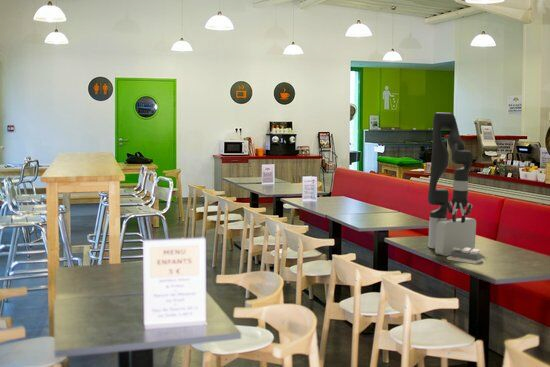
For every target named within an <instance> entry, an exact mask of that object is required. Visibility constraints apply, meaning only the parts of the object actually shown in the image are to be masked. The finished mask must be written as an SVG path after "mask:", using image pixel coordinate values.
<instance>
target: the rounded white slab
mask: <svg viewBox="0 0 550 367" xmlns="http://www.w3.org/2000/svg"><path fill="white" fill-rule="evenodd" d="M476 229H477V220H476V218H472V217H465V222H464V223H461V218H460V217H459V218H458V217H457V218H456V222H453V221H452V219H447V220H443V221H439V222H438V223H437V226H436V242H435V249H434V252H435V254H436V255H439V256H445V257H446V256H447V257H449V256H451V252H452V251H454V250H455V249H453V247H457V248H463V249H464V248H465V247H467V248H471V250H473V249H476V248H475V246H476V232H477V230H476ZM459 251H462V250H459Z"/></svg>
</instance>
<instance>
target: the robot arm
mask: <svg viewBox="0 0 550 367" xmlns="http://www.w3.org/2000/svg"><path fill="white" fill-rule="evenodd" d="M442 130H447V131H448V130H450V133H449V134H448V137H447V144H448V147H449V148H450V150H451V151H450V152H451V161H452V162H453V164H456V165H462V167H460V168H456V169H454V173H453V174H454V176H453V183H452V198H451V201H449V200H450V198H449V197H450V193H449V190H448V189H447V188H437V184H438V182H439V181H440V179H441V177H442V176H443V174H444V173H445V172H446V170H447V168H448V167H449V159H450V158H449V157H450V153H449V151H448V148H447V147H446V144H445V143H444V141H443V138H442V133H441V131H442ZM465 148H466V147H465V144H464V142H463V140H462V138H461V135H460V132H459V127H458V124H457V120H456V117H455V115H454V113H453V112H435V113H434V114H433V117H432V150H431V156H430V158H431V159H430V178H429V184H428V193H427V201H428V204H429V205H432V206H439V207H438V208H437V209H434V210H431V211H430V212H429V223H428V243H427V247H428V248H430V249H434V250H435V242H436V226H437V223H438V222H439V221H443V220H448V219H447V218H448V213H449V214H451V215H452V217H451V218H452V221H453V222H456V219H457V212H458V209H459V210H460V212H461V223H464V222H465V218H467V217H466V216H468V215H470V214H471V211H472V209H473V206H474V204H472V203H470V202H469V201H468V198H469V174H470V169H471V167H472V163H473V161H474V154H473V152H472V151H471V150H465ZM452 206H453V207H452ZM466 207H467V209H466Z"/></svg>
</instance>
